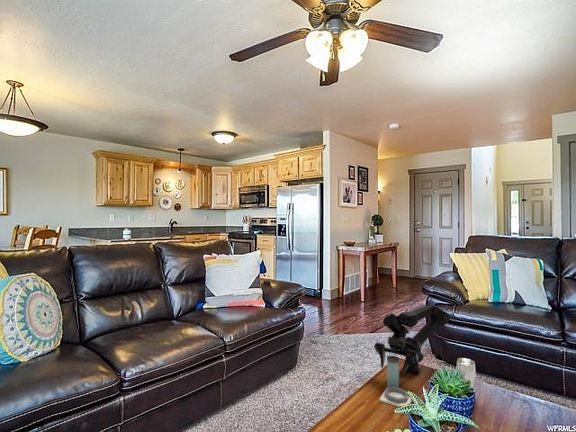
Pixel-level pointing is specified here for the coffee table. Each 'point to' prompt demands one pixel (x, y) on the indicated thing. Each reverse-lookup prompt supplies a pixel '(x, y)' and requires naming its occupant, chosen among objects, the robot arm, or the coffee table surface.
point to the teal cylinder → (392, 371)
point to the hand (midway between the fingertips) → (392, 370)
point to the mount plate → (395, 397)
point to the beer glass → (467, 369)
